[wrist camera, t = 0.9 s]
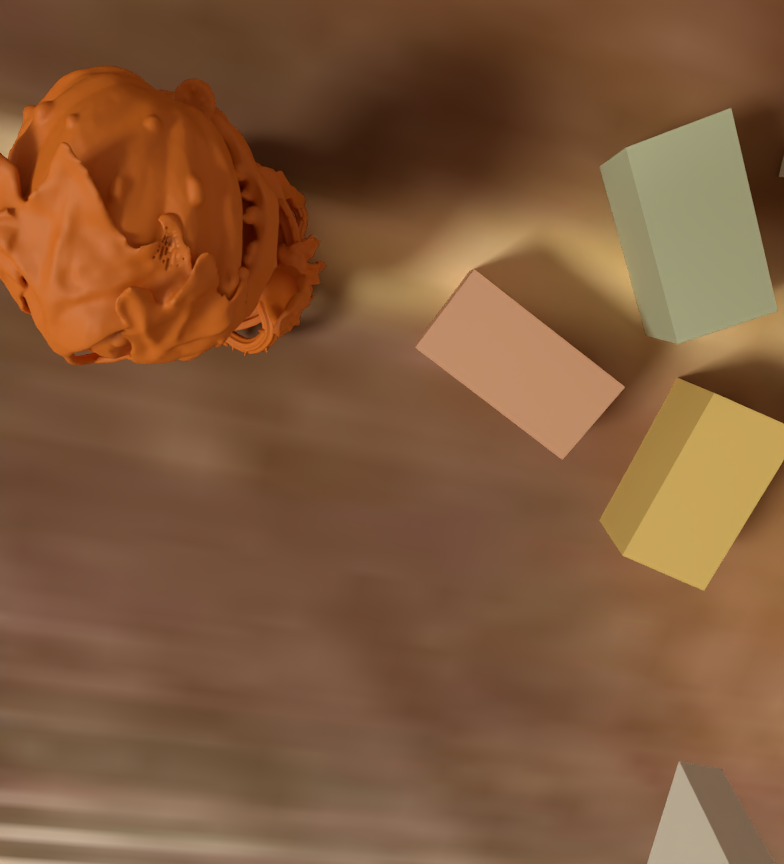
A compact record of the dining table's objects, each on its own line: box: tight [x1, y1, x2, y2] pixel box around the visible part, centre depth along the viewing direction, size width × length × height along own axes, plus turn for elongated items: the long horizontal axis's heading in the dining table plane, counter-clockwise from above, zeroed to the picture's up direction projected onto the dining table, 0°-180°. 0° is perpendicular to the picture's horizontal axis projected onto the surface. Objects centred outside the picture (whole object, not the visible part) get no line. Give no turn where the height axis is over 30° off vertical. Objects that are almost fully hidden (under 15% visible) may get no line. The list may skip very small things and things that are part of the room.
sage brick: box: [600, 108, 778, 344], centre depth 31 cm, size 9×4×5 cm, turn 20°
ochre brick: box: [600, 378, 784, 591], centre depth 34 cm, size 9×4×5 cm, turn 157°
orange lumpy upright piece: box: [0, 66, 326, 365], centre depth 26 cm, size 11×11×18 cm
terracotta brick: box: [415, 269, 625, 460], centre depth 33 cm, size 9×4×5 cm, turn 53°
